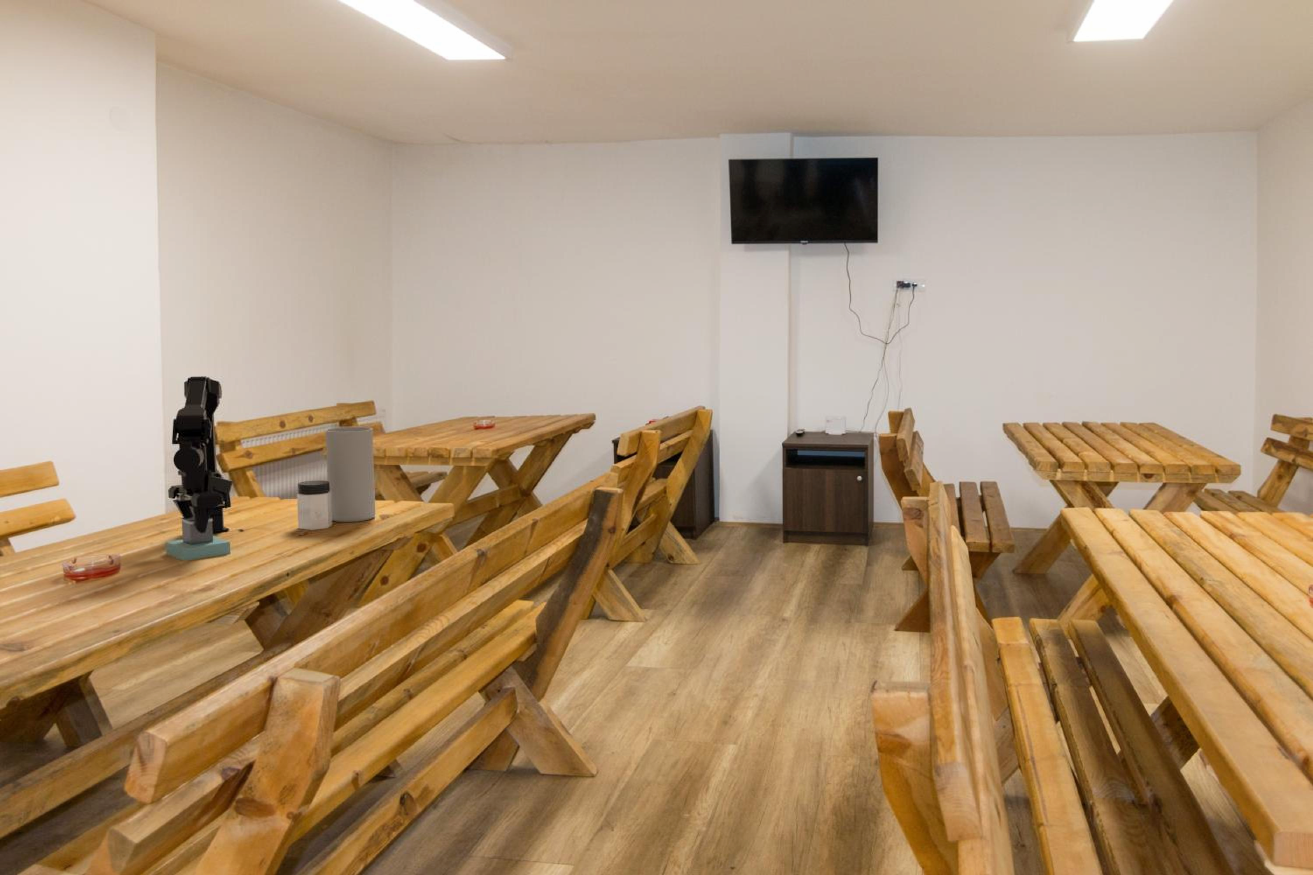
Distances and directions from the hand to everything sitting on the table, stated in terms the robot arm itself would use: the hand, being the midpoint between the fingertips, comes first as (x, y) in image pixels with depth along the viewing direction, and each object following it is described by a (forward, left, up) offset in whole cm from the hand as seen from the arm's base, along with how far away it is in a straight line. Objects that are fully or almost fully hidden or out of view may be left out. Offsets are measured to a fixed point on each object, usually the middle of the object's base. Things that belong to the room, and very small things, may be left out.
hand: (197, 530), depth 261 cm
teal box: (0, 0, -6) cm, 6 cm away
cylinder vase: (-14, +48, -6) cm, 50 cm away
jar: (-10, +35, -6) cm, 37 cm away
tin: (0, 0, -3) cm, 3 cm away
